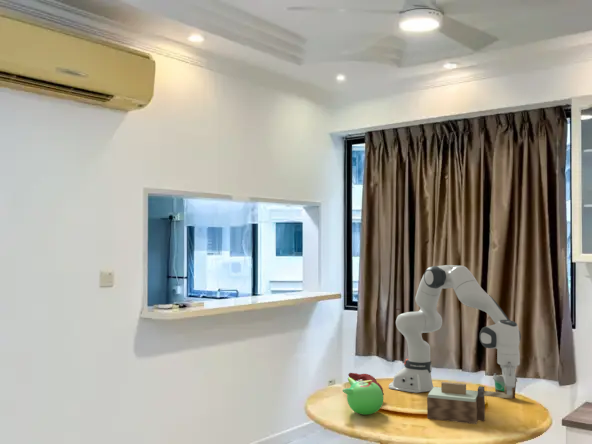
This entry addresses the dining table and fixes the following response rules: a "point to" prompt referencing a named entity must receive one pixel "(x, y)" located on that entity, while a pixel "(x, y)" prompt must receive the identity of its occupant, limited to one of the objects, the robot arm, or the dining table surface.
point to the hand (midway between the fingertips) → (508, 393)
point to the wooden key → (498, 394)
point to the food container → (502, 384)
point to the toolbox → (457, 409)
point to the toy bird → (364, 396)
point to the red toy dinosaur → (364, 378)
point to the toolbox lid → (453, 392)
